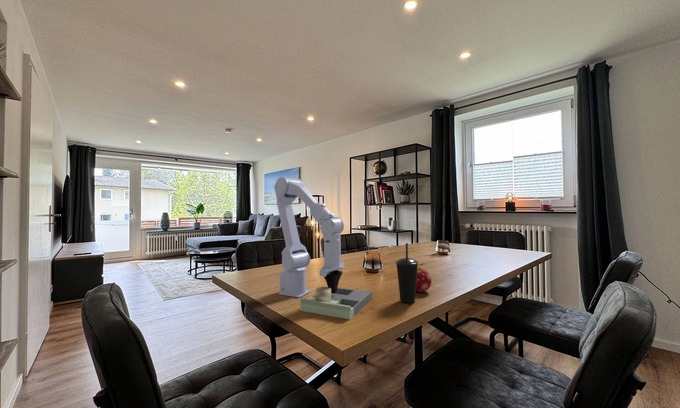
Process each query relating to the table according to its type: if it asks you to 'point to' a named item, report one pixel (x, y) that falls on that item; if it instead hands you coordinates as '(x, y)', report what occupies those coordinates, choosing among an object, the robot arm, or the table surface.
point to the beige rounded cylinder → (323, 294)
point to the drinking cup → (407, 278)
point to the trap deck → (338, 303)
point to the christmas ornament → (422, 280)
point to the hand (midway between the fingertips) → (332, 292)
